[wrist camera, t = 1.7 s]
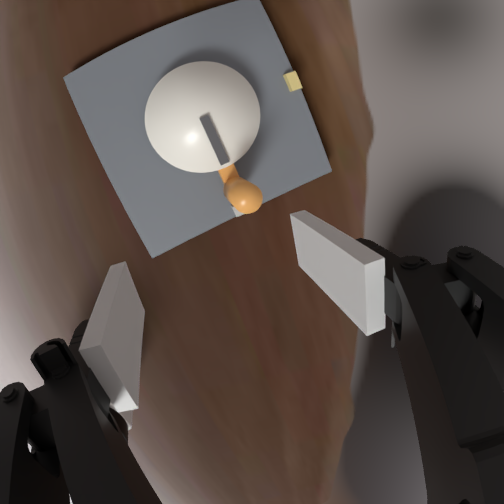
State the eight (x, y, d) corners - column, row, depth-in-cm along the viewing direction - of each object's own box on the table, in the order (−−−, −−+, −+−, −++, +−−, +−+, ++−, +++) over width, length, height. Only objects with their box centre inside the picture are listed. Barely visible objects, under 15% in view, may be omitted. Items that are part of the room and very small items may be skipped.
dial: (128, 93, 27) (118, 83, 21) (230, 50, 28) (244, 31, 22) (190, 222, 33) (195, 240, 27) (285, 176, 34) (309, 185, 28)
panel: (68, 80, 27) (60, 76, 24) (252, 2, 28) (259, -7, 26) (153, 252, 36) (152, 261, 33) (324, 169, 37) (335, 171, 35)
